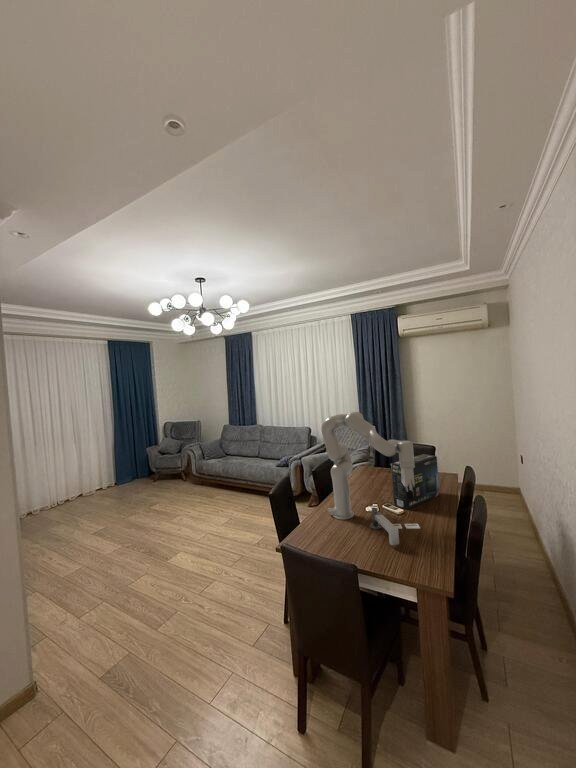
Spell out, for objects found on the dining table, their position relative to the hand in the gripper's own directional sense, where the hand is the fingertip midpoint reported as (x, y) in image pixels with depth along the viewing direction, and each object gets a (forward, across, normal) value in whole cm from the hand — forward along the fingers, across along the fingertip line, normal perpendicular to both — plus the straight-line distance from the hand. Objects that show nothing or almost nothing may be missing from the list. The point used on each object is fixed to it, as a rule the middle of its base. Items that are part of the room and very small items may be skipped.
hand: (409, 498), depth 163 cm
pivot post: (+15, 0, -19) cm, 24 cm away
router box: (+15, -37, +12) cm, 42 cm away
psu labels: (+15, 0, -4) cm, 16 cm away
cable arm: (+14, +12, -15) cm, 24 cm away
